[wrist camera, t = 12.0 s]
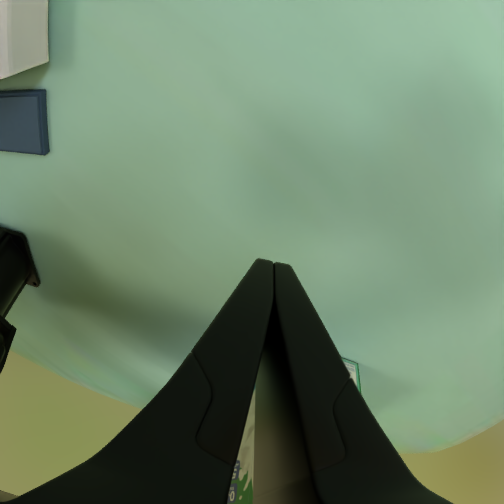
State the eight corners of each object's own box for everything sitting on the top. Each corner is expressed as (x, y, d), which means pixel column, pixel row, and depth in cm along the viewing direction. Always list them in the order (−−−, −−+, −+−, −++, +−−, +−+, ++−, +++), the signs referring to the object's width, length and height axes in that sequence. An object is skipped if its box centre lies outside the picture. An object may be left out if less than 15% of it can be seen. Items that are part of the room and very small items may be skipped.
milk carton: (305, 395, 36) (295, 595, 17) (237, 374, 33) (209, 598, 14) (358, 363, 30) (364, 604, 11) (285, 335, 28) (266, 625, 9)
